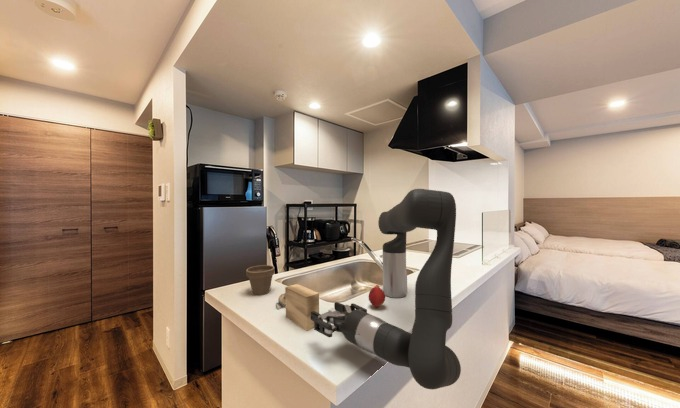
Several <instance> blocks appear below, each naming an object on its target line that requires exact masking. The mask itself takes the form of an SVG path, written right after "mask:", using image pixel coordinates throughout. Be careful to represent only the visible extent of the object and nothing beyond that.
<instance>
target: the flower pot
mask: <svg viewBox="0 0 680 408" xmlns="http://www.w3.org/2000/svg"><path fill="white" fill-rule="evenodd" d="M275 273H276V272H275V266H273V265H268V264H262V265H261V264H260V265H255V266H250V267H248V268H247V269H246V270H245V274H246V275H245V276H246V277H247V278H248V280H249V284H250V288H251V290H252V293H253V295H256V296H261V295H265V294H268V293H269V292H270V290H271V286H272V279H273V276H274V274H275Z"/></svg>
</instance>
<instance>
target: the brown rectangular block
mask: <svg viewBox="0 0 680 408" xmlns="http://www.w3.org/2000/svg"><path fill="white" fill-rule="evenodd" d="M284 287H285V288H284V289H285V290H284V291H285V293H284V294H285V301H286V303H285V319H288V320H289V321H291V322H292V323H294V324H296V325H297V326H299V327H300V328H302V329H304V330H305V331H306V332H308V331H311V330H312V329H313V330H314V321H312V320H311V312H312V311H315V312H317V313H319V314H320V294H319V293H320V292H318V291H315V290H312V289H310V288H308V287H306V286H303V285H301V284H298V283H295V284H292V285H288V286H284Z"/></svg>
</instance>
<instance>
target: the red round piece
mask: <svg viewBox="0 0 680 408" xmlns="http://www.w3.org/2000/svg"><path fill="white" fill-rule="evenodd" d="M368 301H369V303H370V304H371V305H372V306H373V307H375V308H380V306H382V305H383V304H384V303H385V301H386V295H385V294H384V292H383V288H381V287H380V285H379V284H376V285H375V286H374V287H372V288H371V289H370V290H369V292H368Z"/></svg>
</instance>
